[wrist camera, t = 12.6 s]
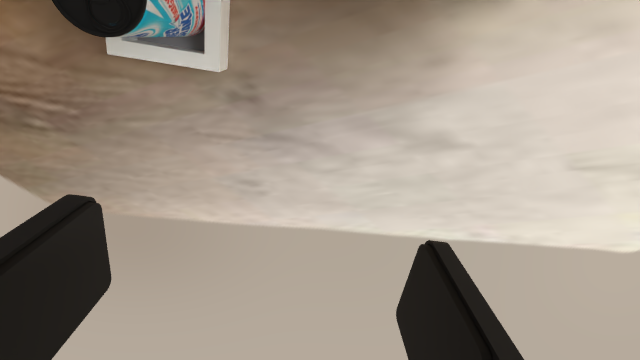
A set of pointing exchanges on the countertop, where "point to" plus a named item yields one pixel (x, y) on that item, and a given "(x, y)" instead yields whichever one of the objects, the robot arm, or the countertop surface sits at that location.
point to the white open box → (183, 43)
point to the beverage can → (135, 17)
